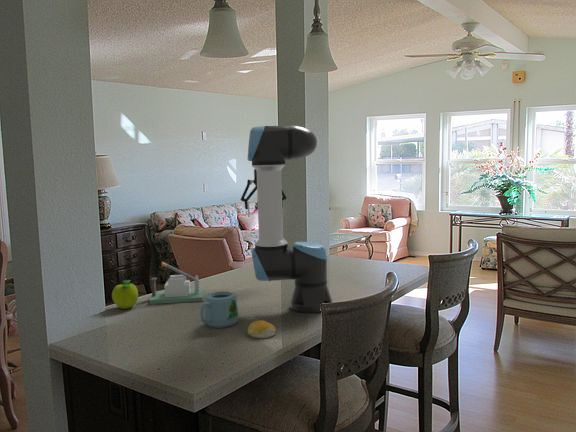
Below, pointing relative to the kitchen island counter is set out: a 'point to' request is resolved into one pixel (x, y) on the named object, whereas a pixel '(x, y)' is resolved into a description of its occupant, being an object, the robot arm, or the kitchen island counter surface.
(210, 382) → the kitchen island counter surface
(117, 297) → the fruit
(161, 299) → the heatsink board
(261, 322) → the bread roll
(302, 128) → the robot arm
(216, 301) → the mug
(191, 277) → the wooden stick
